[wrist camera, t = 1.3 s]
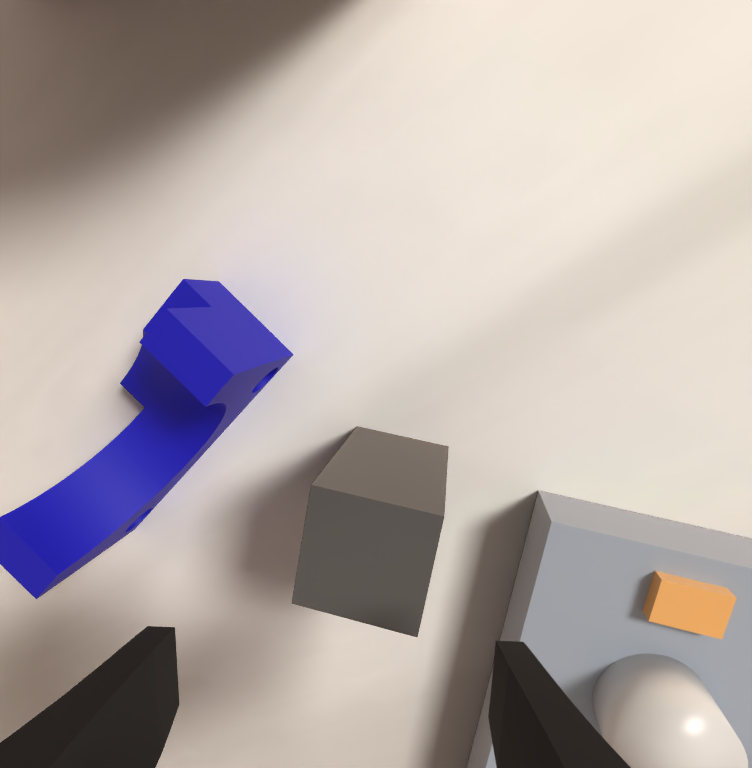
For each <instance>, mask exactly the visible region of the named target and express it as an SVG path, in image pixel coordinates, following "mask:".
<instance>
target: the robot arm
mask: <svg viewBox="0 0 752 768" xmlns="http://www.w3.org/2000/svg"><path fill="white" fill-rule="evenodd" d="M178 706H179V692H178V675H177V657H176V639H175V627H152V626H148V627H146V628H145V629H144V630H143V631H141V632H140V633H139V634H138V635H136V636H135V637H134V638H133V639H132V640H130V641H129V642H128V643H127V644H126V645H124V646H123V647H122V648H121V649H120V650H118V651H117V652H116V653H115V654H114V655H112V656H111V657H110V658H109V659H108V660H106V661H105V662H104V663H103V664H102V665H100V666H99V667H98V668H97V669H96V670H94V671H93V672H92V673H91V674H89V675H88V676H87V677H86V678H84V679H83V680H82V681H81V682H80V683H78V684H77V685H76V686H75V687H73V688H72V689H71V690H70V691H68V692H67V693H66V694H65V695H63V696H62V697H61V698H60V699H58V700H57V701H56V702H54V703H53V704H52V705H50V706H49V707H48V708H46V709H45V710H44V711H42V712H41V713H40V714H38V715H37V716H36V717H34V718H33V719H32V720H30V721H29V722H28V723H26V724H25V725H24V726H22V727H21V728H20V729H18V730H17V731H16V732H15V733H13V734H12V735H10V736H9V737H8V738H6V739H5V740H3V741H2V742H1V743H0V768H155V767H156V765H157V763H158V760H159V758H160V756H161V754H162V751H163V748H164V746H165V743H166V740H167V738H168V735H169V732H170V729H171V726H172V724H173V721H174V718H175V715H176V712H177V709H178ZM488 719H489V725H490V731H491V737H492V744H493V749H494V755H495V761H496V766H497V768H631V767H630V766H629V765H628V764H627V763H626V762H625V761H624V760H623V759H622V758H621V756H620V755H619V754H618V753H617V752H616V751H615V750H614V749H613V748H612V747H611V746H610V745H609V744H608V743H607V741H606V740H605V739H604V738H603V737H602V736H601V735H600V734H599V733H598V731H597V730H596V729H595V728H594V727H593V726H592V725H591V723H590V722H589V721H588V720H587V719H586V718H585V716H584V715H583V714H582V713H581V712H580V711H579V709H578V708H577V707H576V706H575V705H574V704H573V702H572V701H571V700H570V699H569V698H568V696H567V695H566V694H565V693H564V692H563V690H562V689H561V688H560V687H559V685H558V684H557V683H556V682H555V680H554V679H553V678H552V677H551V675H550V674H549V673H548V672H547V670H546V669H545V668H544V667H543V665H542V664H541V663H540V662H539V660H538V659H537V658H536V656H535V655H534V654H533V653H532V651H531V650H530V649H529V648H528V646H527V645H526V644H525V643H524V642H518V641H496V647H495V656H494V666H493V676H492V685H491V695H490V705H489V714H488Z"/></svg>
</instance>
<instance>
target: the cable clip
mask: <svg viewBox="0 0 752 768" xmlns="http://www.w3.org/2000/svg"><path fill="white" fill-rule="evenodd" d="M140 343H141V344H142V346H141V349H140V352H139V354H138V357H137V359H136V360H135V362H134V364H133V366H132V367H131V369H130V370H129V372H128V373H127V375H126V376H125V377H124V379H123V380H122V381H121V383H120V384H121V385H122V386H123V387H124V388H125V389H126V390H127V391H128V392H129V393H130V394H131V395H132V396H133V397H134V398H135V399H137V400H138V401H139V402H140V403H141V404H142V405H143V406H144V407H145V408H144V409H143V410H142V411H141V413H140V414H139V415H138V416H137V417H136V418H135V419H134V420H133V421H132V422H131V423H130V424H129V425H128V426H127V427H126V428H125V429H124V430H123V431H122V432H121V433H120V434H119V435H118V436H117V437H116V438H115V439H114V440H113V441H112V442H110V443H109V444H108V445H107V446H106V447H105V448H104V449H102V450H101V451H100V452H99V453H98V454H96V455H95V456H94V457H93V458H92V459H90V460H89V461H88V462H87V463H85V464H84V465H83V466H81V467H80V468H79V469H77V470H76V471H75V472H73V473H72V474H71V475H69V476H68V477H66V478H65V479H64V480H62V481H61V482H59V483H58V484H56V485H55V486H53V487H52V488H50V489H49V490H47V491H46V492H44V493H43V494H41V495H39V496H38V497H36V498H34V499H33V500H31V501H29V502H28V503H26V504H24V505H22V506H21V507H19V508H17V509H15V510H13V511H11V512H9V513H7V514H5V515H3V516H1V517H0V564H1V565H2V566H3V567H4V568H5V569H6V570H7V571H8V572H9V573H10V574H11V575H12V576H13V577H14V578H15V579H16V580H17V581H18V582H19V583H20V584H21V585H22V586H23V587H24V588H25V589H26V590H27V591H28V592H29V593H30V594H31V595H32V596H33V597H35V598H36V599H37V598H39V597H40V596H42V595H43V594H44V593H46V592H47V591H49V590H50V589H51V588H53V587H54V586H56V585H57V584H58V583H60V582H61V581H63V580H64V579H65V578H67V577H68V576H70V575H71V574H72V573H74V572H75V571H77V570H78V569H80V568H81V567H82V566H84V565H85V564H87V563H88V562H89V561H91V560H92V559H94V558H95V557H96V556H98V555H99V554H101V553H102V552H103V551H105V550H106V549H108V548H109V547H110V546H112V545H113V544H115V543H116V542H117V541H119V540H120V539H122V538H123V537H125V536H126V535H127V534H129V533H130V532H132V531H133V530H134V529H135V528H136V527H137V526H138V525H139V524H140V523H141V522H142V521H143V520H144V518H145V517H146V516H147V515H148V514H149V513H150V512H151V511H152V510H153V509H154V507H155V506H156V505H157V504H158V503H159V502H160V501H161V500H162V499H163V498H164V496H165V495H166V494H167V493H168V492H169V491H170V490H171V489H172V488H173V487H174V485H175V484H176V483H177V482H178V481H179V480H180V479H181V478H182V477H183V476H184V474H185V473H186V472H187V471H188V470H189V469H190V468H191V467H192V466H193V465H194V463H195V462H196V461H197V460H198V459H199V458H200V457H201V456H202V455H203V453H204V452H205V451H206V450H207V449H208V448H209V447H210V446H211V445H212V444H213V442H214V441H215V440H216V439H217V438H218V437H219V436H220V435H221V434H222V433H223V431H224V430H225V429H226V428H227V427H228V426H229V425H230V424H231V423H232V422H233V420H234V419H235V418H236V417H237V416H238V415H239V414H240V413H241V412H242V411H243V409H244V408H245V407H246V406H247V405H248V404H249V403H250V402H251V401H252V400H253V398H254V397H255V396H256V395H257V394H258V393H259V392H260V391H261V390H262V389H263V387H264V386H265V385H266V384H267V383H268V382H269V381H270V380H271V379H272V378H273V376H274V375H275V374H276V373H277V372H278V371H279V370H280V369H281V368H282V367H283V365H284V364H285V363H286V362H287V361H288V360H289V359H290V358H291V357H292V356H293V354H292V353H291V352H290V351H289V350H288V349H287V348H286V347H285V346H284V345H283V344H282V343H281V342H280V341H279V340H278V339H277V338H276V337H275V336H274V335H273V334H272V333H271V332H270V331H269V330H268V329H267V328H266V327H265V326H264V325H263V324H262V323H261V322H260V321H259V320H258V319H257V318H256V317H255V316H254V315H253V314H251V313H250V312H249V311H248V310H247V309H246V308H245V307H244V306H243V305H242V304H241V303H240V302H239V301H238V300H237V299H236V298H235V297H234V296H233V295H232V294H231V293H230V292H229V291H228V290H227V289H226V288H225V287H224V286H223V285H222V284H221V283H220V282H218V281H204V280H190V279H183V280H182V281H181V283H180V284H179V285H178V286H177V288H176V289H175V290H174V291H173V293H172V294H171V295H170V296H169V298H168V299H167V300H166V302H165V303H164V304H163V305H162V307H161V308H160V309H159V310H158V312H157V313H156V314H155V315H154V317H153V318H152V319H151V320H150V322H149V323H148V324H147V325H146V327H145V328H144V329H143V338H142V340H141V341H140Z"/></svg>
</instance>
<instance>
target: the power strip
mask: <svg viewBox="0 0 752 768" xmlns="http://www.w3.org/2000/svg"><path fill="white" fill-rule="evenodd" d="M500 641H518V642H524V643H525V644H526V645H527V646H528V648H529V649H530V650H531V651H532V653H533V654H534V655H535V656H536V658H537V659H538V660H539V662H540V663H541V664H542V665H543V667H544V668H545V669H546V670H547V672H548V673H549V674H550V675H551V677H552V678H553V679H554V680H555V682H556V683H557V684H558V685H559V687H560V688H561V689H562V690H563V692H564V693H565V694H566V695H567V696H568V698H569V699H570V700H571V701H572V702H573V704H574V705H575V706H576V707H577V708H578V709H579V711H580V712H581V713H582V714H583V715H584V716H585V718H586V719H587V720H588V721H589V722H590V723H591V725H592V726H593V727H594V728H595V729H596V730H597V731H598V733H599V734H600V735H601V736H602V737H603V738H604V739H605V740H606V741H607V743H608V744H609V745H610V746H611V747H612V748H613V749H614V750H615V751H616V752H617V753H618V754H619V755H620V756H621V758H622V759H623V760H624V761H625V762H626V763H627V764H628V765H629V766H630V767H631V768H752V539H750V538H746V537H741V536H737V535H733V534H728V533H724V532H719V531H715V530H711V529H706V528H702V527H697V526H693V525H689V524H684V523H680V522H675V521H671V520H666V519H662V518H658V517H653V516H649V515H644V514H640V513H636V512H631V511H627V510H622V509H618V508H613V507H609V506H605V505H600V504H596V503H591V502H587V501H583V500H578V499H574V498H569V497H565V496H561V495H556V494H552V493H547V492H543V491H538V494H537V498H536V502H535V506H534V510H533V514H532V518H531V521H530V525H529V529H528V533H527V537H526V541H525V545H524V548H523V552H522V556H521V560H520V564H519V568H518V572H517V575H516V579H515V583H514V587H513V591H512V595H511V599H510V602H509V606H508V610H507V614H506V618H505V622H504V626H503V630H502V633H501V637H500ZM493 666H494V664H493ZM492 676H493V668H492V672H491V676H490V680H489V684H488V687H487V691H486V695H485V699H484V703H483V707H482V711H481V714H480V718H479V722H478V726H477V730H476V734H475V738H474V741H473V745H472V749H471V753H470V757H469V761H468V765H467V768H497V766H496V761H495V755H494V749H493V744H492V737H491V731H490V725H489V719H488V714H489V705H490V695H491V685H492Z"/></svg>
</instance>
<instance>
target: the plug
mask: <svg viewBox="0 0 752 768" xmlns="http://www.w3.org/2000/svg"><path fill="white" fill-rule="evenodd" d="M447 461H448V446H443V445H439V444H434V443H430V442H425V441H421V440H416V439H412V438H407V437H403V436H398V435H394V434H389V433H385V432H380V431H376V430H371V429H366V428H362V427H356V428H355V430H354V431H353V432H352V433H351V435H350V436H349V437H348V439H347V440H346V441H345V442H344V444H343V445H342V446H341V447H340V449H339V450H338V451H337V452H336V454H335V455H334V456H333V458H332V459H331V460H330V461H329V463H328V464H327V465H326V466H325V468H324V469H323V470H322V471H321V473H320V474H319V475H318V477H317V478H316V479H315V480H314V482H313V483H312V484H311V488H310V494H309V500H308V507H307V513H306V519H305V525H304V531H303V537H302V543H301V549H300V555H299V561H298V567H297V574H296V580H295V586H294V592H293V598H292V604H296V605H299V606H303V607H307V608H311V609H314V610H318V611H322V612H325V613H329V614H333V615H336V616H340V617H344V618H348V619H351V620H355V621H359V622H362V623H366V624H370V625H373V626H377V627H381V628H385V629H388V630H392V631H396V632H399V633H403V634H407V635H410V636H414V637H418V632H419V628H420V623H421V619H422V614H423V610H424V605H425V601H426V596H427V592H428V587H429V583H430V578H431V574H432V569H433V565H434V560H435V556H436V551H437V547H438V542H439V538H440V533H441V529H442V524H443V520H444V512H445V495H446V478H447Z"/></svg>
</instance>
